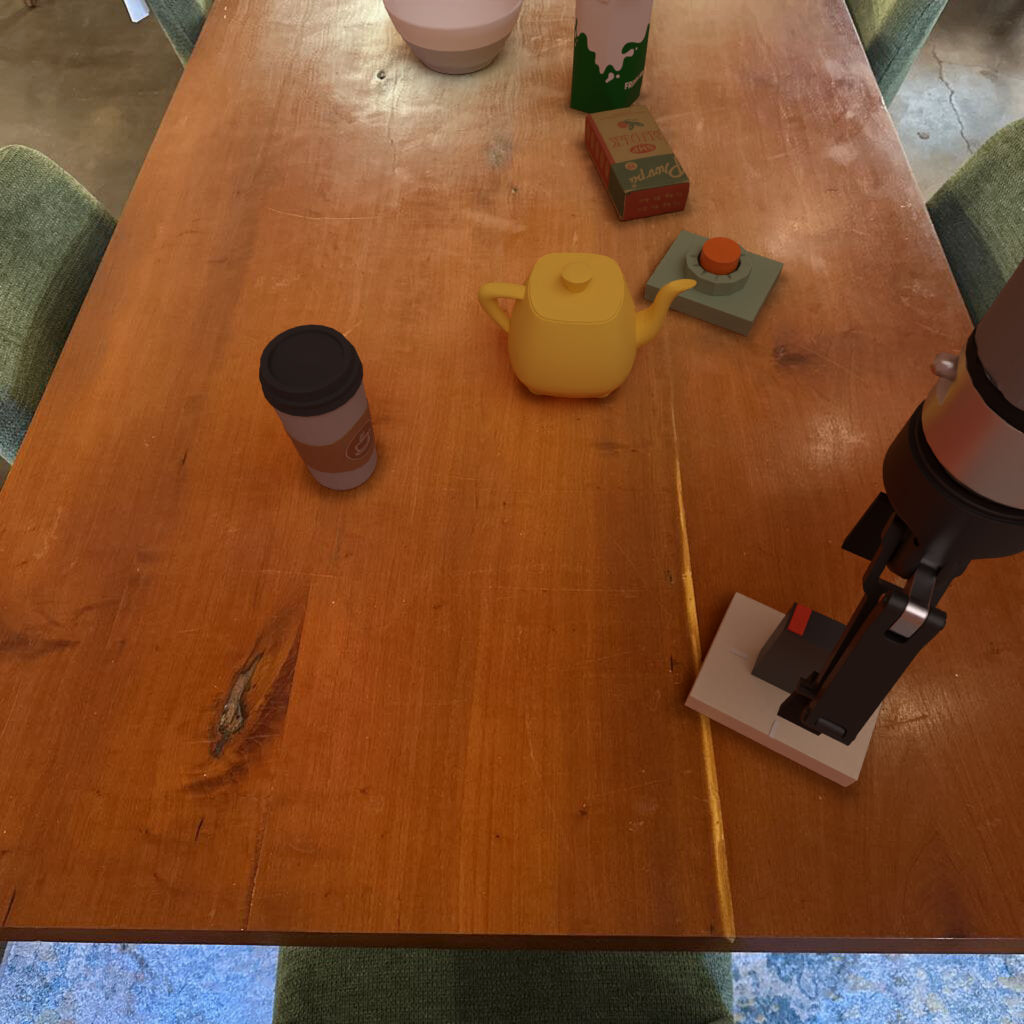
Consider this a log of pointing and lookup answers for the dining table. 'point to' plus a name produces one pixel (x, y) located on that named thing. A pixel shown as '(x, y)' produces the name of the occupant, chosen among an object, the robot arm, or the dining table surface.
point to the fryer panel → (765, 696)
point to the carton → (635, 163)
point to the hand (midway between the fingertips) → (831, 631)
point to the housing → (716, 285)
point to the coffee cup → (321, 403)
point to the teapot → (576, 324)
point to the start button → (720, 256)
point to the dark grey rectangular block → (797, 647)
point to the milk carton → (609, 53)
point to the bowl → (454, 30)
